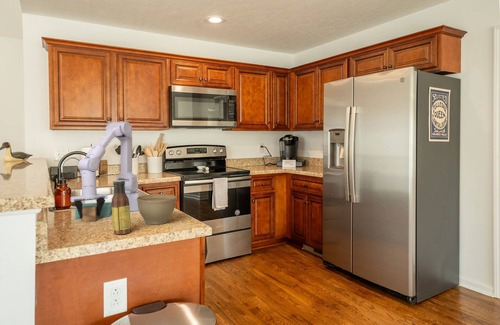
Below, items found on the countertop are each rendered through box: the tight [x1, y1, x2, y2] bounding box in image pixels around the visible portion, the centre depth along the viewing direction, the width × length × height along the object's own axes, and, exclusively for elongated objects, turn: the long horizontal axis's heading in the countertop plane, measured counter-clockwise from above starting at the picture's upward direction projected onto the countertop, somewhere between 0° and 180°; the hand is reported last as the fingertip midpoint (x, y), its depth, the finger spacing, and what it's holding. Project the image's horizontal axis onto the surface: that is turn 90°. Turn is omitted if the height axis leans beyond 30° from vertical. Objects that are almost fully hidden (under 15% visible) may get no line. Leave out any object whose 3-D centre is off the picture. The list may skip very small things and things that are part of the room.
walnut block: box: [82, 206, 98, 223], centre depth 149 cm, size 5×5×6 cm
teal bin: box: [74, 201, 112, 219], centre depth 160 cm, size 14×12×4 cm
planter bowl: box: [137, 193, 177, 225], centre depth 146 cm, size 16×16×11 cm
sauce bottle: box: [111, 180, 132, 236], centre depth 128 cm, size 6×6×20 cm
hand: (90, 216), depth 149 cm, fingers closed on walnut block, 6 cm apart
